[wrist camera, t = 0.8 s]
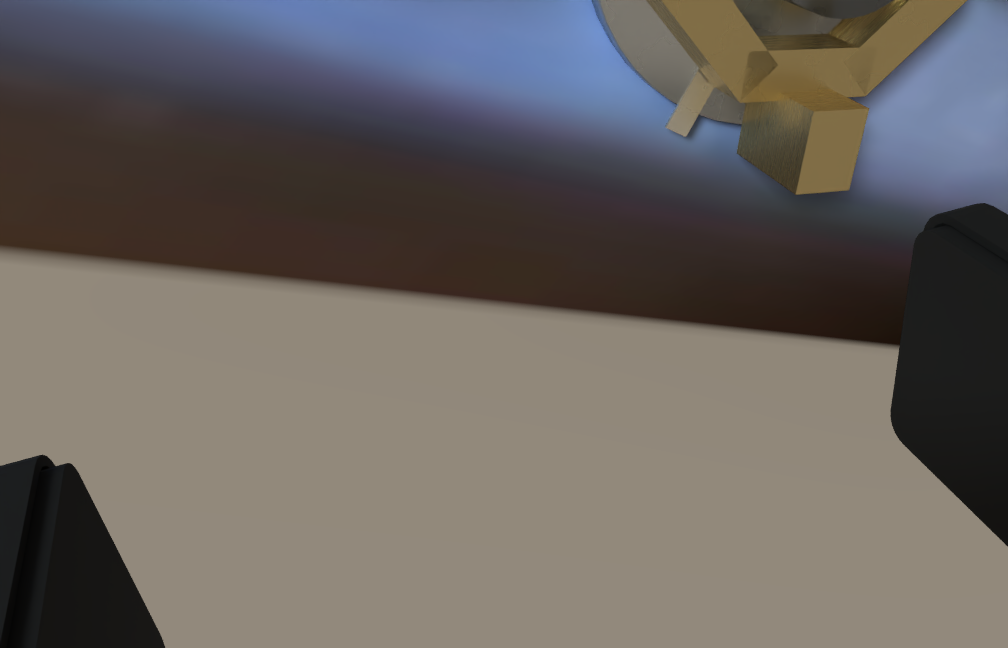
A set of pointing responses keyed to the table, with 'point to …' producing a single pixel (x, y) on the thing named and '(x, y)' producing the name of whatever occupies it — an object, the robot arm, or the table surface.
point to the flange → (670, 70)
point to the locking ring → (801, 81)
